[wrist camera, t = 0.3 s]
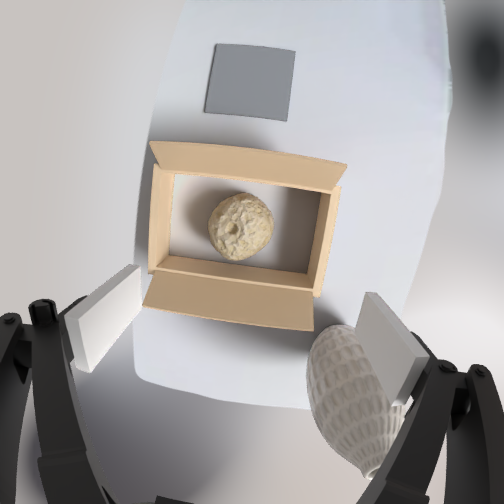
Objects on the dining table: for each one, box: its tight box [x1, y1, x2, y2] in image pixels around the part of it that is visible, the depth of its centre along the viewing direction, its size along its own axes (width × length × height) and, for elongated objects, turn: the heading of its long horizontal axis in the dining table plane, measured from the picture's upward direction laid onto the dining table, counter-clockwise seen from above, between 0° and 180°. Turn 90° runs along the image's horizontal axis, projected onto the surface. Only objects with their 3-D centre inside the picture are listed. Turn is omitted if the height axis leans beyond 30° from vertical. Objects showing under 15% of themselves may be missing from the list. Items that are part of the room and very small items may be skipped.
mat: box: [205, 44, 296, 121], centre depth 36 cm, size 12×12×1 cm
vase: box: [306, 325, 405, 480], centre depth 33 cm, size 13×13×28 cm
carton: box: [142, 141, 347, 332], centre depth 37 cm, size 20×24×11 cm
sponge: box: [208, 193, 274, 261], centre depth 39 cm, size 9×10×10 cm
